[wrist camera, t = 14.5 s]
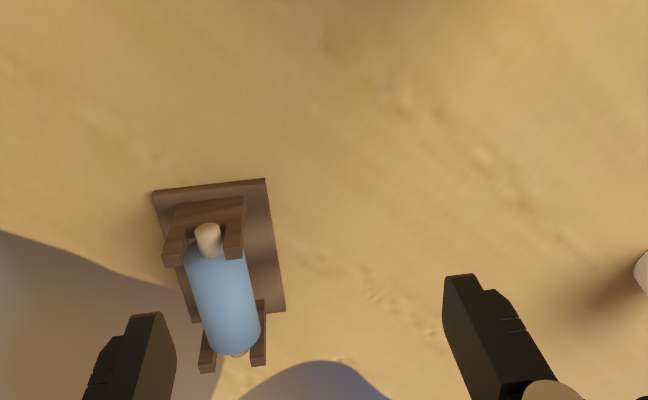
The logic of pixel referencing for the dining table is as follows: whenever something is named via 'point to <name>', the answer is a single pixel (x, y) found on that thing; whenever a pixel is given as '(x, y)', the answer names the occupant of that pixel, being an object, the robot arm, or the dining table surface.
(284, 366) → the dining table surface
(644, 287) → the foam cup
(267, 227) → the roll holder
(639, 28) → the dining table surface
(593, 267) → the dining table surface
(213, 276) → the towel roll
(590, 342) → the dining table surface
